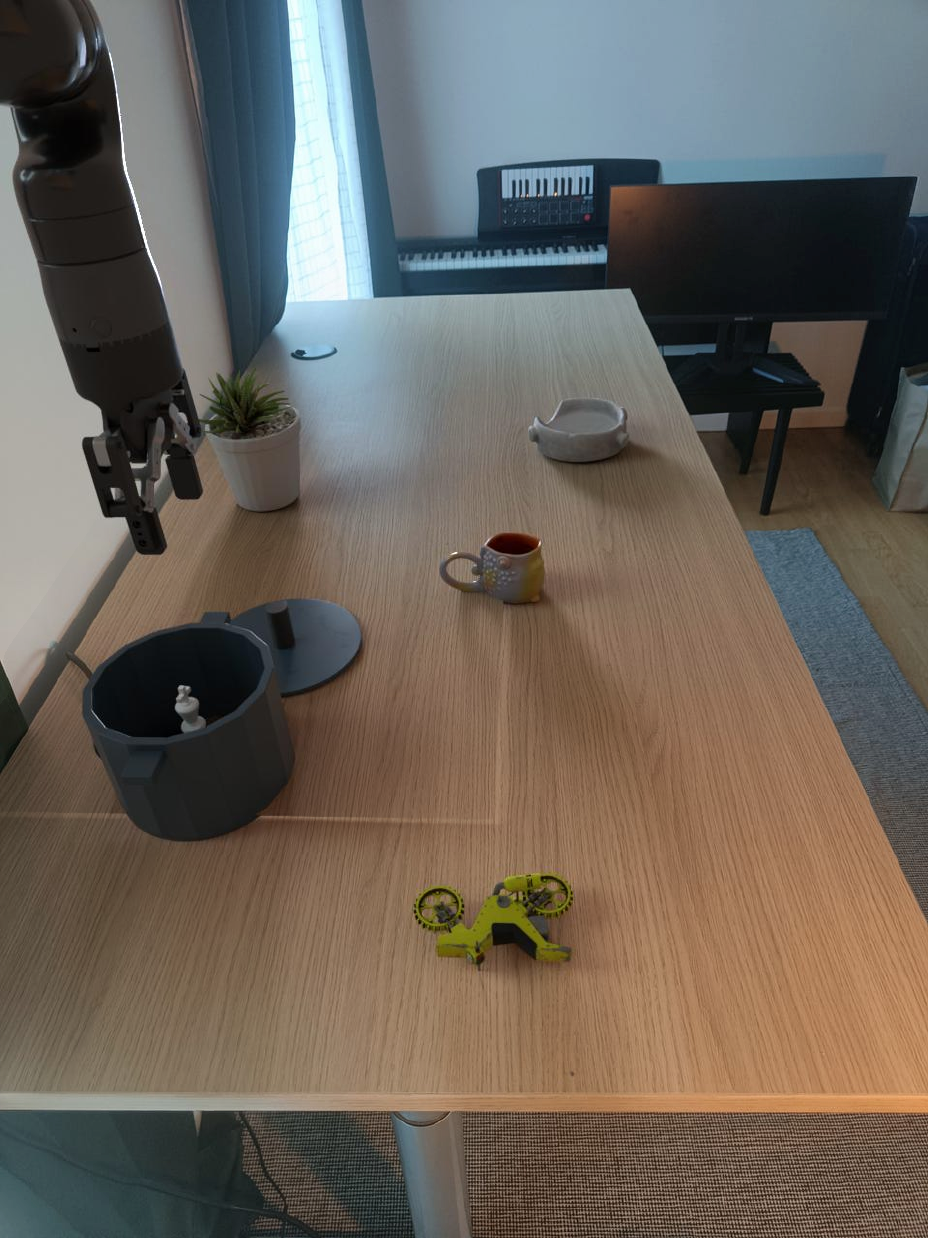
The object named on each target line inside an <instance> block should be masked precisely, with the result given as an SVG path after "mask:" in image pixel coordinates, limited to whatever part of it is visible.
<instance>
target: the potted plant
mask: <svg viewBox="0 0 928 1238" xmlns="http://www.w3.org/2000/svg"><path fill="white" fill-rule="evenodd" d="M256 370H257V366H255V365H254V367H253V368H252V370H251V372H249V373H248V374H247V375H246V376H245V377H244V379H243V381H242V384H241V385H240V383H241V382H240V381H241V380H240V379H241V370H239V371H238V373H237V375H236V378H235V381H233V377H232V374H231V371H228V376H229V381H230V385H229V384H228V383H227V382H226V380H225V379H224V378H223V376H222V375H221V374H220V373H217V371H216V372H215V375H216V379H217V382H218V384H219V387H220V388H221V390H222V391H219V390H218V388H217V387H216V386H215V385H214V383H213V381H212V380H211V378H210V377H208V378H207V379H208V381H209V383H210V386H211V387H212V389H213V390H212V394H213V395H214V396H215V397H216V399H218V401H216V400H215V399H212V398H210V397H208V396H206V395H204V394H202V393H200V394H198V395H199V396H201V397H202V398H204V399H206V400H208V401H210V402H211V403H212V404H214V405H215V406H216V407H215V406H212V405H210V406H209V407H208V409H209V410H210V411H211V412H213V413H214V415H213V416H212V417H210V418H209V419H200V418H199V422H200V424H201V423H202V424H205V425H204V430H202V429H201V430H202V433H204V434H205V435H206V437H207V439H208V442H209V444H210V445H211V446H212V448H213V450H214V452H215V455H216V457H217V460H218V462H219V465H220V467H221V469H222V471H223V474H224V477H225V479H226V482H227V484H228V486H229V489H230V491H231V493H232V495H233V497H234V499H235V502H236V503H237V504H238V506H239V507H241V509H242V508H243V509H244V510H247V511H251V512H258V513H259V512H260V513H261V512H270V511H275V510H280V509H283V508H285V507H287V506H289V505H291V504H292V503H293V502H295V501H296V500H297V498H298V497H299V495H300V490H301V489H300V488H301V449H300V448H301V443H300V432H301V427H302V426H301V425H302V424H301V423H302V422H301V413H300V411H298V410H297V408H295V407H293V406H291V403H289V402H281V401H289V398H288V397H276V398H272V397H274V396H276V395H279V394H282V393H285V392H286V391H285V390H279V391H274V392H270V393H268V394H265V395H263V396H260V397H259V398H258V395H259V392H260V390H262V389H263V388H265V387H267V386H269V385H271V384H272V383H271V382H268V383H265V384H261V385H260V383H258V384H257V387H256V388H255V389H254V390H253V388H254V385H255V382H256V381H257V377H258V375H259V371H257V372H256V374H254V373H255V371H256ZM271 398H272V399H271Z"/></svg>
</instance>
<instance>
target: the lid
mask: <svg viewBox="0 0 928 1238" xmlns="http://www.w3.org/2000/svg"><path fill="white" fill-rule="evenodd" d="M229 625H232V626H236V627H239V628H243V629H246V630H250V631H251V632H252V633H254V634H255V635H256V636H257V637H258V638H259V639H261V640H262V641H263V642H264V643H265V644H266V645H268V647H269V649H270V653H271V657H272V661H273V665H274V669H275V673H276V677H277V682H278V686H279V690H280V694H281V698H283V697H290V696H294V695H299V694H303V693H306V692H309V691H311V690H314V689H317V688H319V687H321V686H324V685H325V684H327V683H330V682H331V681H332V680H334V679H336V678H337V677H338V676H340V675H341V674H343V673H344V672H345V671H346V670H347V669H348V668H349V667H350V666H351V665H352V664H353V662H354V661H355V660H356V658H357V656H358V654H359V653H360V650H361V647H362V642H363V637H362V636H363V634H362V629H361V625H360V624H359V622H358V620H357V618H356V617H355V616H354V615H353V613H351V612H350V611H349V610H347V609H346V608H344V607H342V606H341V605H339V604H336V603H334V602H330V601H328V600H322V599H317V598H303V597H301V598H287V599H286V598H285V599H278V600H273V601H270V602H267V603H263V604H260V605H256V606H254V607H252V608H249V609H247V610H245V611H242V612H241V613H239V614H237V615H235V616H234V617H232V618H231V621H230V624H229Z"/></svg>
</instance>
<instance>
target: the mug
mask: <svg viewBox="0 0 928 1238" xmlns="http://www.w3.org/2000/svg"><path fill="white" fill-rule="evenodd" d="M542 549H543V540H542V539H541V538H539V537H538V536H535V535H533V534H528V533H523V532H516V531H515V532H514V531H505V532H500V533H496V534H494V535H492V536H491V537H490V538H488V540H487V541H486V542H485V543H484V544H482V545H481V547H480V550H479V556H477V555H476V554H474V553H471V552H468V551H457V552H453V553H450V554H448V555H446V556H445V557H444V558H443V560H442V561H441V562H440V564H439V568H438V570H439V571H438V572H439V576H440V578H441V579H442V582H444V583H445V584H446V585H448V586H449V587H451V588H453V589H455V590H457V591H461V592H465V593H482V594H488V595H489V596H491V597H492V598H494V599H495V600H499V601H502V602H503V604H514V605H515V604H523V603H528V602H530V603H537V602H539V601H540V598H541V597H540V595H539V593H540V591H541V590H542V588H543V586H544V582H545V576H546V572H545V560H544V558H543V555H542ZM458 559H459V560H460V559H462V560H463V559H465V560H469V561H471V562H473V563H474V565H473V566H472V567H471V570H470V571H471V574H472V575H473V576H476V577H477V576H478V579H477V580H475V581H469V582H467V581H461V580H457V579H455V578H453V577H452V576H451V575H450V573H449V572H448V571H447V567H448V565H449V564H450V563H451V562H453V561H455V560H458Z"/></svg>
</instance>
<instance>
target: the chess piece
mask: <svg viewBox="0 0 928 1238" xmlns="http://www.w3.org/2000/svg"><path fill="white" fill-rule="evenodd" d="M178 691H179V695H178V697H177V698H176V701H177V703H176V705H175V710H176V712H177V713H178V714H179V715H180V716H181V717H182V718H183V719H184V721H183V722H182V724H181V727H180V731H181V732H182V733H187V732H191V731H195V730H198V729H202V728H205V727H206V726H207V721H206V719H204V718H203V717H201V716H198V709H199V701H198V700H197V699H196V698H194V697H188V694H189V693H190V691H191V688H190V687H189V686H182V685H180V686H179V687H178Z"/></svg>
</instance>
